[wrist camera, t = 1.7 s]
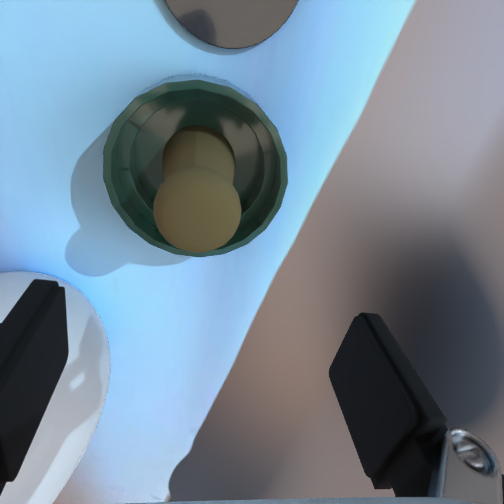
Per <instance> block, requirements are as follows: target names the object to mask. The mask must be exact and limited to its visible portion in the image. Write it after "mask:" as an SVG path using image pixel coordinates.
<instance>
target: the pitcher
mask: <svg viewBox="0 0 504 504" xmlns="http://www.w3.org/2000/svg"><path fill="white" fill-rule="evenodd" d="M34 279H43V280H53V281H57V282H58V284H59V286H62V287H64V288H65V296H66V313H67V330H68V347H69V354H68V359H67V363H66V365H65V367H64V370H63V372H62V374H61V377H60V379H59V381H58V383H57V386H56V388H55V390H54V393H53V395H52V397H51V399H50V402H49V404H48V406H47V409H46V411H45V413H44V416H43V418H42V420H41V422H40V425H39V427H38V429H37V432H36V434H35V436H34V438H33V441H32V443H31V445H30V448H29V450H28V452H27V454H26V457H25V459H24V461H23V464H22V466H21V468H20V471H19V473H18V475H17V477H16V479H15V480H14V481H13V482H6V485H5V487H4V489H3V491H2V493H1V496H0V504H53V502H54V501H55V499H56V498H57V496H58V495H59V493H60V492H61V490H62V489H63V487H64V485H65V484H66V482H67V481H68V479H69V478H70V476H71V475H72V473H73V471H74V470H75V468H76V466H77V465H78V463H79V461H80V459H81V458H82V456H83V454H84V452H85V450H86V448H87V446H88V444H89V442H90V440H91V438H92V436H93V434H94V431H95V429H96V427H97V424H98V421H99V419H100V416H101V413H102V410H103V407H104V403H105V400H106V396H107V391H108V386H109V379H110V367H111V359H110V348H109V342H108V338H107V335H106V331H105V328H104V326H103V323H102V321H101V318H100V316H99V315H98V313H97V311H96V309H95V308H94V306H93V305H92V303H91V302H90V301H89V299H88V298H87V297H86V296H85V295H84V294H83V293H82V292H81V291H80V290H78V289H77V288H76V287H74V286H72V285H71V284H69V283H67V282H66V281H64V280H61V279H59V278H56V277H53V276H50V275H46V274H42V273H37V272H28V271H18V272H4V273H0V323H2V322H3V320H4V319H5V318H6V316H7V315H8V313H9V312H10V311H11V309H12V308H13V307H14V305H15V304H16V303H17V301H18V300H19V298H20V297H21V296H22V294H23V293H24V292H25V290H26V289H27V288H28V286H29V285H30V283H31V282H32V281H33V280H34Z"/></svg>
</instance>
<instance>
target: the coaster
mask: <svg viewBox="0 0 504 504" xmlns="http://www.w3.org/2000/svg"><path fill="white" fill-rule="evenodd" d="M298 1H299V0H165V2H166V4H167V6H168V8H169V9H170V10H171V12H172V13H173V15H174V16H175V18H176V19H177V20H178V21H179V22H180V23H181V24H182V26H183V27H185V28H186V29H187V30H188V31H189V32H190V33H191V34H193V35H194V36H196V37H197V38H199V39H200V40H202V41H204V42H206V43H208V44H211V45H214V46H217V47H221V48H226V49H239V48H246V47H250V46H253V45H256V44H258V43H260V42H263V41H264V40H266V39H267V38H269V37H271V36H272V35H273V34H274V33H275V32H277V31H278V30H279V29H280V28H281V27H282V25H283V24H284V23H285V22H286V21H287V19H288V18H289V17H290V15H291V14H292V12H293V10H294V9H295V7H296V5H297V3H298Z"/></svg>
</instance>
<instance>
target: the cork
mask: <svg viewBox="0 0 504 504" xmlns="http://www.w3.org/2000/svg"><path fill="white" fill-rule="evenodd" d="M235 163H236V161H235V155H234V150H233V149H232V147H231V145H230V143H229V141H228V140H227V139H226V138H225V137H224V136H223V135H222V134H221V133H220V132H218V131H216V130H214V129H212V128H210V127H206V126H199V125H194V126H189V127H184V128H182V129H181V130H179V131H177V132H176V133H174V134H173V135H172V136H171V138H170V139H169V140H168V141H167V142H166V145H165V148H164V151H163V153H162V167H163V176H164V182H163V183H162V184H161V185H160V186H159V189H158V192H157V194H156V197H155V200H154V203H153V215H154V219H155V222H156V224H157V227H158V230H159V232H160V233H161V234H162V235H163V237H164V238H165V239H166V241H168V242H169V243H171V244H172V245H174V246H175V247H177V248H179V249H182V250H185V251H188V252H196V253H203V252H208V251H212V250H215V249H217V248H219V247H221V246H223V245H225V244H226V243H227V242H228V241H229V240H230V239H231V238H232V237H233V236H234V234H235V232H236V230H237V228H238V226H239V223H240V217H241V211H242V210H241V205H240V200H239V196H238V193H237V191H236V190H235V188H234V186H233V185H232V184H233V178H234V171H235Z"/></svg>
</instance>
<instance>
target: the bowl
mask: <svg viewBox="0 0 504 504" xmlns="http://www.w3.org/2000/svg"><path fill="white" fill-rule="evenodd" d="M194 125H199V126H206V127H210V128H212V129H214V130H216V131H218V132H220V133H221V134H222V135H223V136H224V137H225V138H226V139H227V140H228V141H229V143H230V145H231V147H232V149H233V150H234V155H235V161H236V163H235V171H234V178H233V184H232V185H233V186H234V188H235V190H236V191H237V193H238V196H239V200H240V205H241V210H242V211H241V217H240V223H239V226H238V228H237V230H236V232H235V234H234V236H233V237H232V238H231V239H230V240H229V241H228V242H227V243H226V244H225V245H223V246H221V247H219V248H217V249H215V250H212V251H208V252H203V253H196V252H188V251H185V250H182V249H179V248H177V247H175V246H174V245H172V244H171V243H169V242H168V241H166V239H165V238H164V237H163V235H162V234H161V233H160V232H159V230H158V227H157V224H156V222H155V219H154V215H153V203H154V200H155V197H156V194H157V192H158V189H159V186H160V185H161V184H162V183H163V182H164V176H163V167H162V153H163V151H164V148H165V145H166V142H167V141H168V140H169V139H170V138H171V136H172V135H173V134H174V133H176V132H177V131H179V130H181V129H182V128H184V127H189V126H194ZM103 179H104V182H105V185H106V188H107V191H108V194H109V197H110V200H111V203H112V205H113V207H114V208H115V210H116V211H117V212H118V214H119V215H120V216H121V218H122V219H123V221H124V222H125V223H126V225H127V226H128V227H129V228H130V229H131V230H132V231H134V232H135V233H136V234H137V235H139V236H140V237H141V238H143V239H144V240H145V241H147V242H148V243H149V244H151V245H153V246H156V247H158V248H161V249H163V250H166V251H168V252H170V253H173V254H178V255H186V256H194V257H206V256H213V255H220V254H224V253H228V252H230V251H232V250H235V249H237V248H239V247H242V246H244V245H246V244H248V243H249V242H251V241H252V240H253V239H254V238H255V237H257V236H258V235H259V234H260V233H262V232H263V231H264V230H265V229H266V228H267V227H268V225H269V224H270V222H271V221H272V219H273V218H274V216H275V215H276V213H277V212H278V210H279V209H280V207H281V204H282V200H283V197H284V194H285V190H286V187H287V183H288V177H287V155H286V152H285V149H284V147H283V144H282V141H281V138H280V136H279V133H278V130H277V129H276V127H275V126H274V124H273V123H272V122H271V121H270V119H269V118H268V117H267V116H266V114H265V113H264V112H263V111H262V109H261V108H260V107H259V106H258V104H257V103H256V102H255V101H254V100H253V98H252V97H251V96H250V95H248V94H247V93H245V92H244V91H242V90H241V89H239V88H238V87H236V86H234V85H233V84H231V83H230V82H228V81H226V80H223V79H219V78H215V77H211V76H207V75H203V74H190V75H180V76H171V77H168V78H166V79H164V80H162V81H160V82H158V83H156V84H154V85H152V86H150V87H148V88H146V89H145V90H143V91H142V92H141V93H140V94H139V95H138V96H137V97H136V98H135V99H134V100H133V101H132V102H131V103H130V104H129V105H128V106H127V107H126V108H125V110H124V111H123V112H122V113H121V114H120V115H119V116H118V117H117V118H116V119H115V121H114V123H113V126H112V128H111V131H110V133H109V136H108V139H107V141H106V144H105V146H104V152H103Z"/></svg>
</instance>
